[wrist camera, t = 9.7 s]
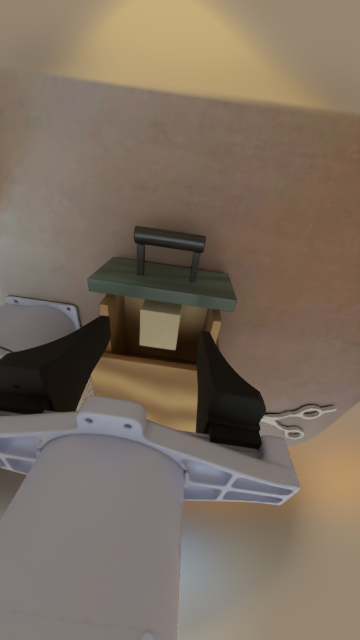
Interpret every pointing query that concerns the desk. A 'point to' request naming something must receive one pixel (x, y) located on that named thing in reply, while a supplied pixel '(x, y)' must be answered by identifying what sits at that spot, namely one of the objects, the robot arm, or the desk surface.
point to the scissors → (300, 413)
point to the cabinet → (151, 387)
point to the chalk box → (159, 324)
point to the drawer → (162, 296)
